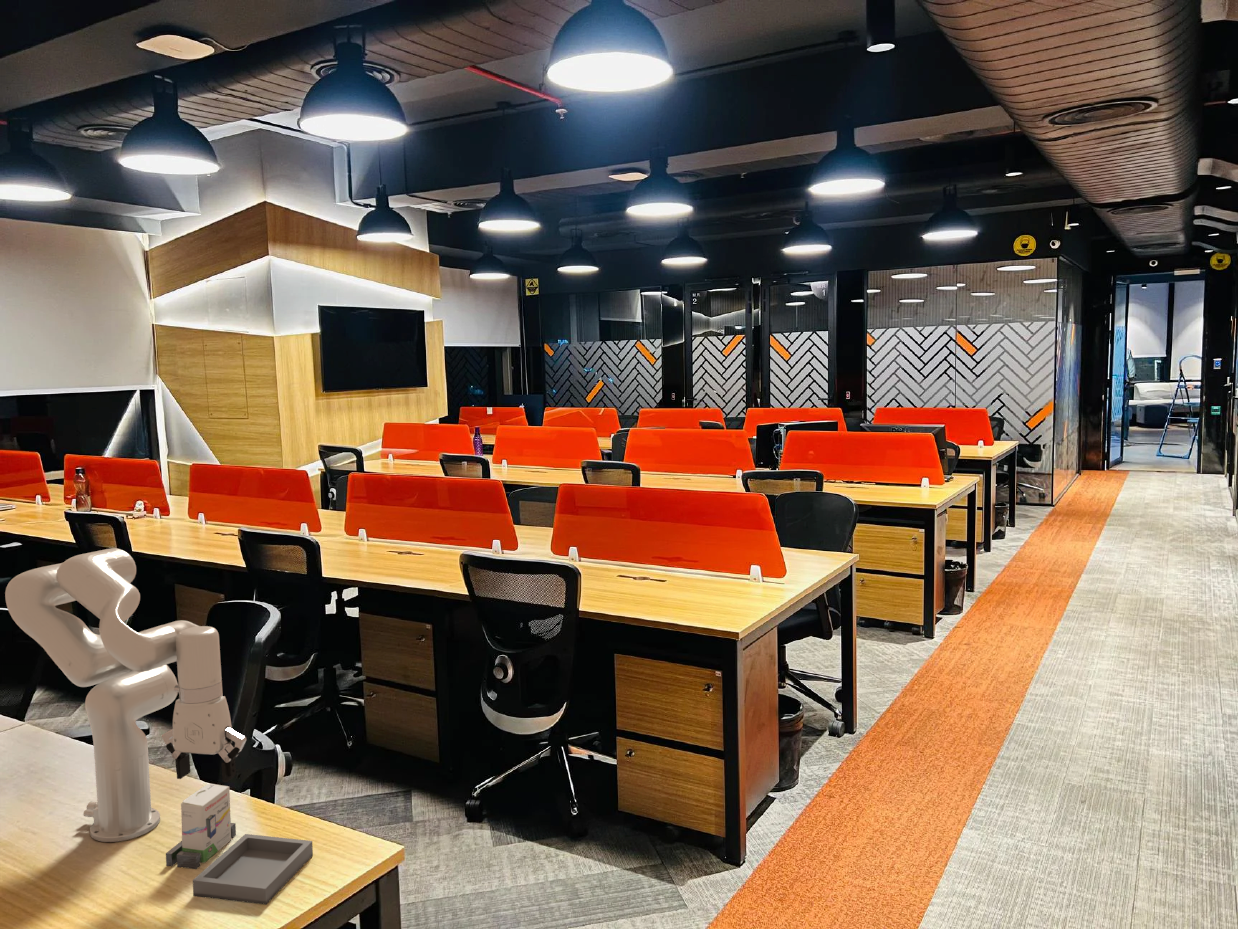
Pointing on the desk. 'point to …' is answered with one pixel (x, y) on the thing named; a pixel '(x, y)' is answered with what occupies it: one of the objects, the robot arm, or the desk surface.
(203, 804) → the ink box
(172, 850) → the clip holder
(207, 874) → the tray
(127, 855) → the desk surface
